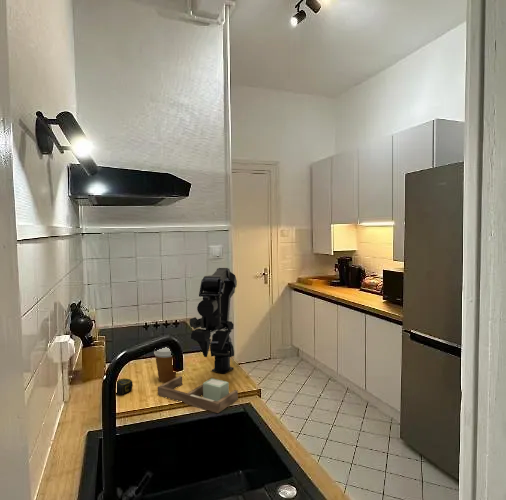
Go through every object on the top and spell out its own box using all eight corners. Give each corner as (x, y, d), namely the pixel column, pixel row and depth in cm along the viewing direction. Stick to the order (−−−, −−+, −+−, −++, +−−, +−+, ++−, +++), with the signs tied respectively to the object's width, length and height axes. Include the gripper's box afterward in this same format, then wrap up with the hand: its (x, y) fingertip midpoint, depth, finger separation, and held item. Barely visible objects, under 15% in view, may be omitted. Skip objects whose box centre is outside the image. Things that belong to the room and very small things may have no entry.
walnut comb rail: (179, 383, 138) (179, 375, 138) (237, 399, 125) (237, 390, 125) (157, 395, 128) (157, 386, 128) (218, 413, 115) (217, 403, 115)
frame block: (212, 393, 130) (211, 377, 129) (228, 398, 126) (228, 381, 126) (203, 399, 125) (202, 382, 125) (220, 403, 122) (219, 387, 121)
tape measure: (108, 393, 131) (107, 382, 130) (124, 386, 136) (124, 376, 136) (120, 397, 127) (120, 387, 127) (136, 390, 133) (136, 380, 132)
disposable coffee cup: (173, 385, 137) (173, 352, 136) (150, 383, 139) (149, 351, 138) (183, 375, 146) (183, 345, 145) (161, 373, 148) (160, 343, 147)
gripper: (210, 304, 147) (211, 343, 148) (178, 313, 131) (179, 357, 132) (234, 307, 141) (234, 347, 142) (203, 316, 125) (203, 362, 126)
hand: (213, 353), depth 135 cm, fingers open, 9 cm apart
